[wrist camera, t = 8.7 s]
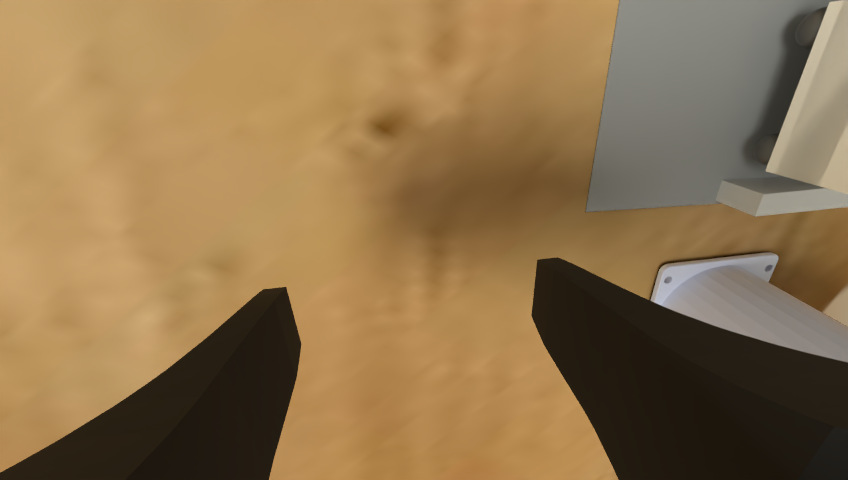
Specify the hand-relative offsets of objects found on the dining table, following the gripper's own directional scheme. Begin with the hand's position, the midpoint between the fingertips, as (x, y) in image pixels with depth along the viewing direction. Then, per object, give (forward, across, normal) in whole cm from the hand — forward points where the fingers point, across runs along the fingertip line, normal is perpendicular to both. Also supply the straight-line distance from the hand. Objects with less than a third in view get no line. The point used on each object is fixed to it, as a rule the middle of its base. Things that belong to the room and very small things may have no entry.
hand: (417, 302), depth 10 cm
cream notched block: (+8, -22, -4) cm, 23 cm away
